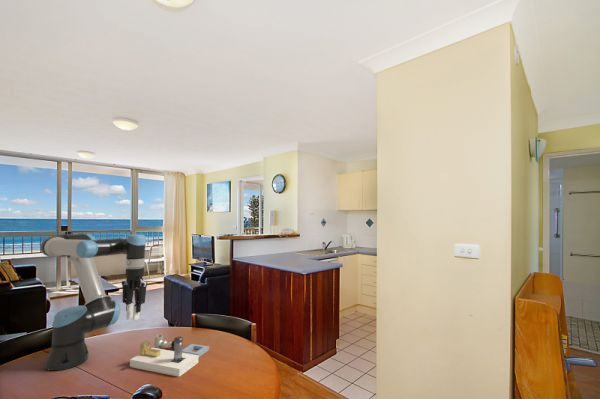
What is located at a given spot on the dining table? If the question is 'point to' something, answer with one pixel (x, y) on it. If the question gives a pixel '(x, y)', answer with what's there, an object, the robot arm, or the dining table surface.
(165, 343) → the valve
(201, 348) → the gray square-hole plate
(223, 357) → the dining table surface
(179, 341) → the drill peg
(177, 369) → the socket board
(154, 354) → the yellow l-shaped bracket
